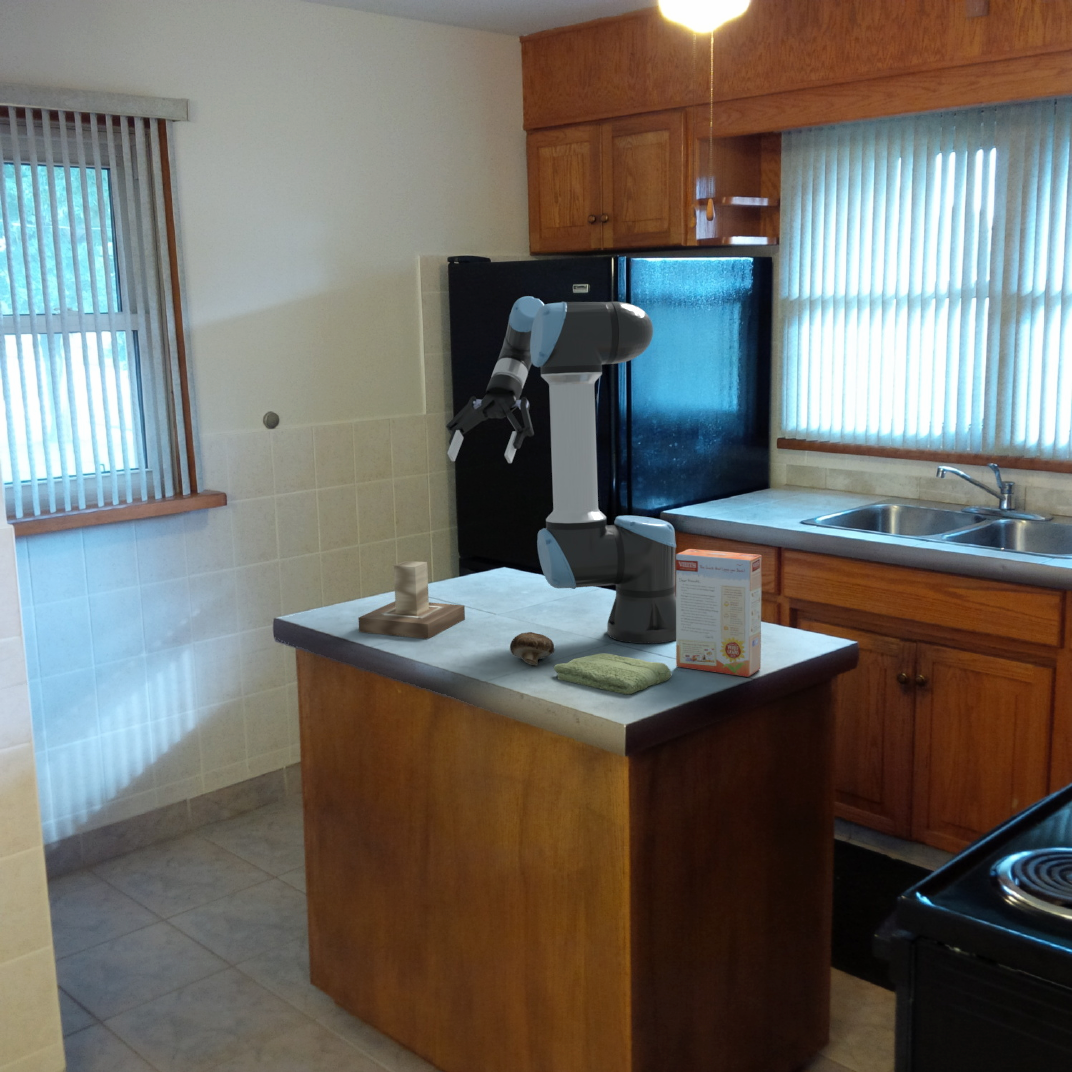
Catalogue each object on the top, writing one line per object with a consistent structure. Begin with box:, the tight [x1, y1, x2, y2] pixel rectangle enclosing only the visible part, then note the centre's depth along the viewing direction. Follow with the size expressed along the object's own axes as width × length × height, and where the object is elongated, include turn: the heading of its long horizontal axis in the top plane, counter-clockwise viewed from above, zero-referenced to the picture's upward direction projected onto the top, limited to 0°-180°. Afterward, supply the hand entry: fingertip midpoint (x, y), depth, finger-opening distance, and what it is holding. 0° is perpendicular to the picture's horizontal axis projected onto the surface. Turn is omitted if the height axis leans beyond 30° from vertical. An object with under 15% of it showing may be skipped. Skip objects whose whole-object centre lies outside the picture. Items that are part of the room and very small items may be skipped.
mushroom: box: [509, 631, 555, 666], centre depth 211 cm, size 8×8×6 cm
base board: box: [357, 600, 466, 640], centre depth 238 cm, size 16×16×3 cm
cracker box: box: [675, 548, 762, 678], centre depth 203 cm, size 14×6×21 cm, turn 58°
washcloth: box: [553, 652, 672, 695], centre depth 201 cm, size 13×18×3 cm
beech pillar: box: [393, 560, 430, 615], centre depth 237 cm, size 5×5×10 cm
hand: (479, 458), depth 247 cm, fingers open, 13 cm apart
